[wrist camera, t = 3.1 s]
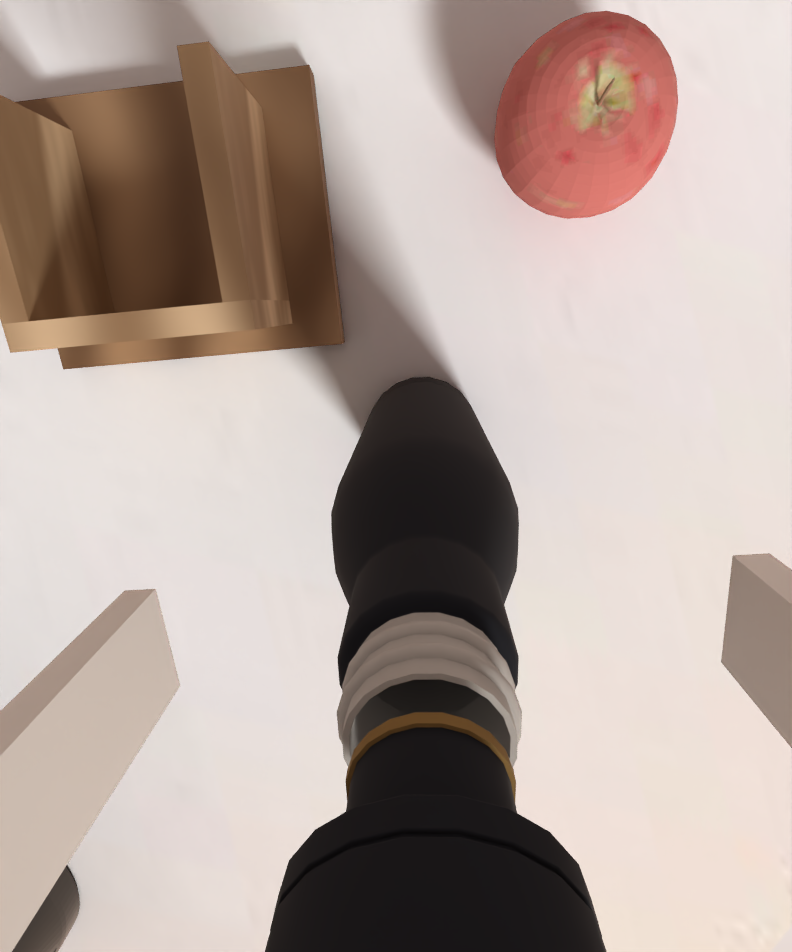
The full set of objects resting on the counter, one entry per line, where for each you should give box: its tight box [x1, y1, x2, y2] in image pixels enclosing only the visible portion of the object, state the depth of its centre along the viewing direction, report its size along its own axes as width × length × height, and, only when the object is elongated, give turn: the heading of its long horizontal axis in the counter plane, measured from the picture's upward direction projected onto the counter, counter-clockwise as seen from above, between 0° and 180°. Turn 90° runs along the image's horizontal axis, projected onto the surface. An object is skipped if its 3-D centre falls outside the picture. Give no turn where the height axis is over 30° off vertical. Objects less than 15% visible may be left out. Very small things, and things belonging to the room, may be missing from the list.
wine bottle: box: [265, 377, 606, 952], centre depth 18 cm, size 6×6×30 cm
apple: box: [494, 11, 678, 218], centre depth 24 cm, size 7×7×8 cm
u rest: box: [0, 42, 345, 369], centre depth 26 cm, size 16×13×8 cm
